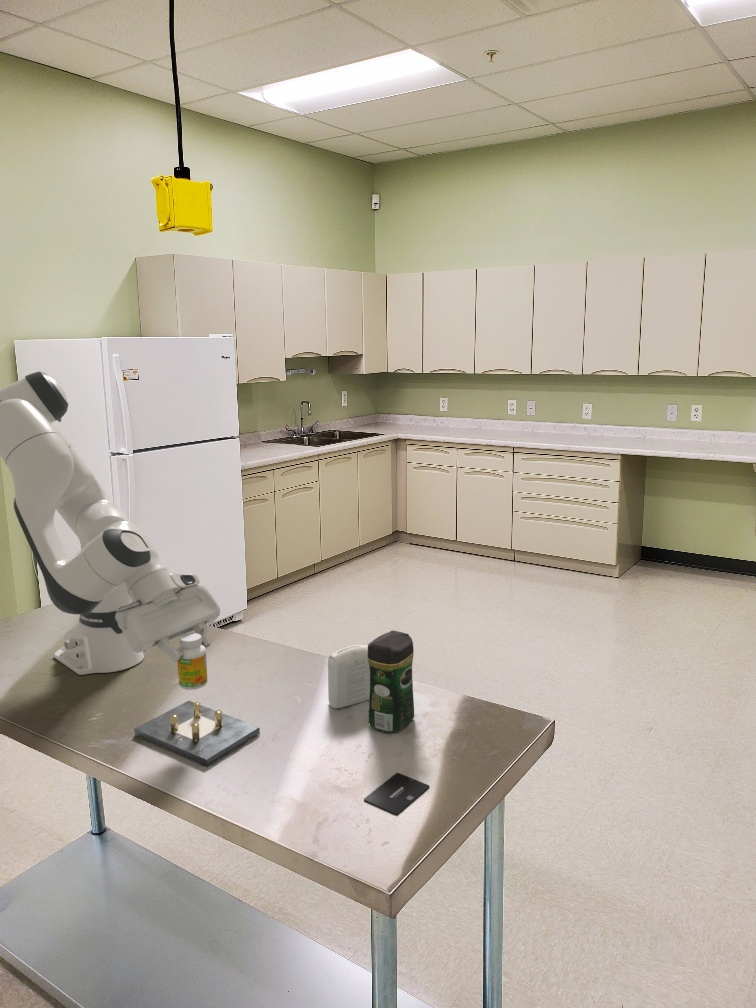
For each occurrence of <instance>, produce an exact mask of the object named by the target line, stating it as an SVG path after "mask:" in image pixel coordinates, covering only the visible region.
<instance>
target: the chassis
mask: <svg viewBox="0 0 756 1008" xmlns="http://www.w3.org/2000/svg"><path fill="white" fill-rule="evenodd" d="M133 729H134V737H137V738H140V739H141V740H143V741H146V742H149V743H151V744H153V745H155V746H158V747H160V748H161V749H162V748H163V749H165V750H167V751H169V752H171V753H173V754H176V755H178V756H181V757H183V758H185V759H188V760H190V761H192V762H194V763H197V764H199V765H202V766H204V767H206V768H208V767H210V766H211V765H213V764H214V763H216V762H217V761H219V760H221V759H222V758H224V757H225V756H228V754H230V753H232V752H233V751H236V750H237V749H238V748H240V747H242V746H244V745H245V744H247V743H248V742H249V741H251V740H253V739H254V738H256V737H258V736H259V735H260V733H261V731H260V730H261V729H260V726H258V725H255V724H252V723H249V722H247V721H244V720H242V719H239V718H236V717H234V716H230V715H228V714H225V713H223V712H222V710H221V709H217V710H215V709H212V708H209V707H207V706H204V705H202V704H201V702H200V701H195V702H193V701H192V700H187V701H185V702H183V703H181V704H178V705H177V706H176V707H174V708H171V709H169V710H168V711H165V712H164V713H162V714H160V715H158V716H155V717H154V718H153V719H150V720H148V721H146V722H145V723H142V724H141V725H138V726H137V727H135V728H133Z"/></svg>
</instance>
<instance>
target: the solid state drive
mask: <svg viewBox="0 0 756 1008" xmlns="http://www.w3.org/2000/svg"><path fill="white" fill-rule="evenodd" d="M429 789H430V785H429V784H428V783H425V782H422V781H420V780H417V779H415V778H413V777H410V776H408V775H405V774H402V773H400V772H396V773H394V774H393V775H392V776H391V777H390V778H388V779H387V780H386V781H384V782H383V783H382V784H380V786H378V787H377V788H376V789H374V790H373V791H371V793H369V794H368V795H366V796H365V797H364V798H363V802H365V803H367V804H369V805H371V806H374V807H376V808H378V809H380V810H383V811H386V813H387V812H388V813H390V814H392V815H394V816H398V815H400V814H401V813H403V811H404V810H406V808H408V807H410V805H412V803H414V802H415V801H416V800H418V798H419V797H421V796H422V795H423V794H425V792H426V791H427V790H429Z"/></svg>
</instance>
